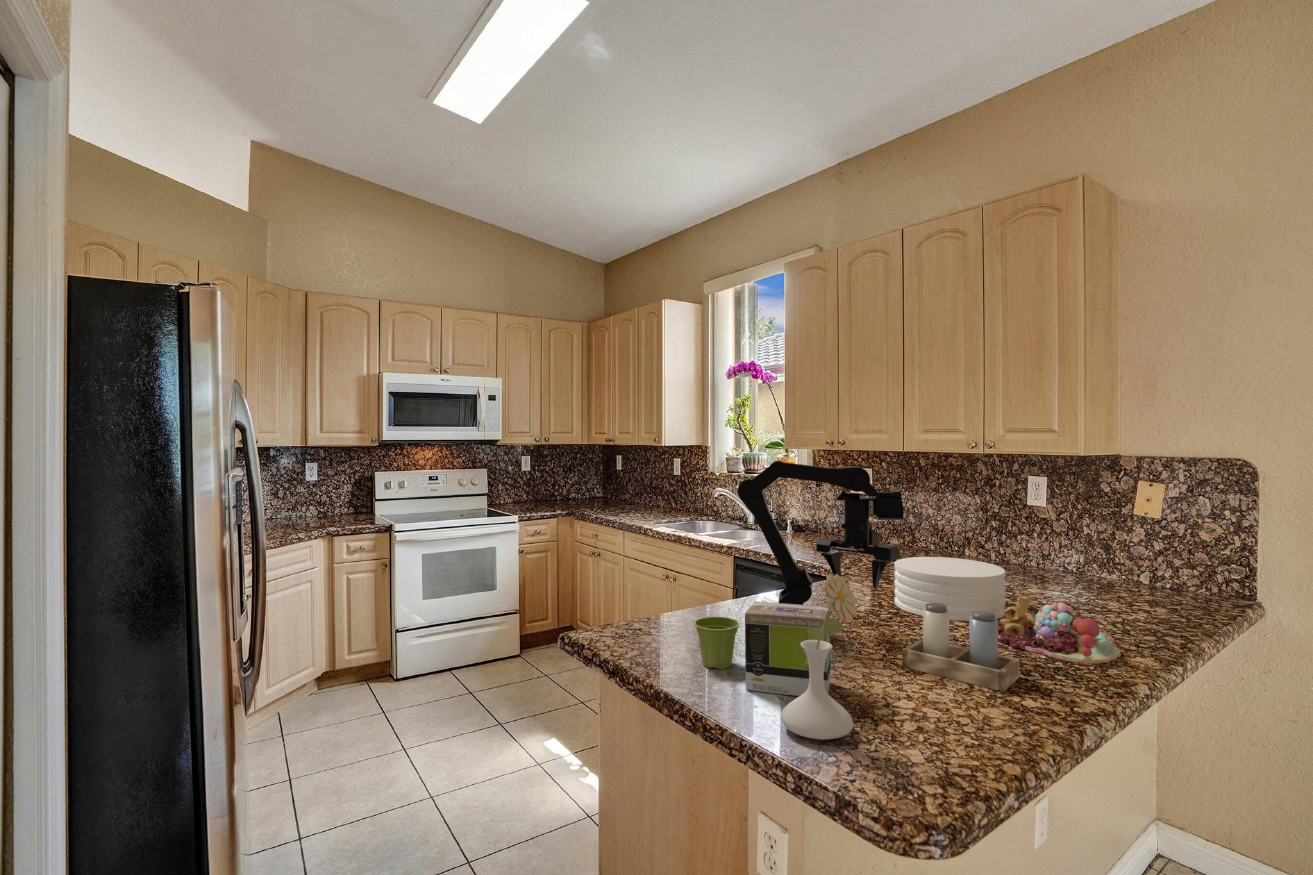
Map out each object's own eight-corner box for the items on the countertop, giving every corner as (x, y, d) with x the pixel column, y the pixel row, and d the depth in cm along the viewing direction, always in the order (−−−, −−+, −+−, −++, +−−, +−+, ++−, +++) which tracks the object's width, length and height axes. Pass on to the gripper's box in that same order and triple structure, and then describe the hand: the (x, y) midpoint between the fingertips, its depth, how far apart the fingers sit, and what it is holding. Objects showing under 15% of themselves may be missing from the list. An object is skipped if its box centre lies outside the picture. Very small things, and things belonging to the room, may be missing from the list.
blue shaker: (981, 683, 123) (980, 618, 123) (963, 673, 128) (963, 611, 128) (1004, 681, 124) (1003, 616, 124) (986, 672, 129) (985, 609, 129)
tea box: (831, 681, 124) (831, 605, 124) (827, 702, 115) (827, 619, 115) (753, 672, 129) (753, 598, 129) (744, 691, 119) (744, 611, 119)
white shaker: (938, 672, 129) (938, 609, 129) (917, 664, 133) (917, 604, 133) (955, 668, 131) (954, 606, 131) (934, 660, 136) (933, 601, 136)
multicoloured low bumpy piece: (980, 644, 147) (980, 604, 147) (1007, 622, 164) (1007, 586, 164) (1113, 671, 130) (1113, 625, 130) (1128, 643, 148) (1128, 603, 148)
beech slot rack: (902, 666, 132) (902, 649, 132) (921, 654, 139) (921, 638, 139) (1004, 691, 119) (1004, 672, 119) (1019, 677, 126) (1019, 659, 126)
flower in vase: (809, 753, 96) (809, 585, 96) (766, 722, 106) (766, 571, 106) (877, 736, 101) (877, 578, 101) (830, 708, 112) (830, 564, 112)
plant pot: (709, 675, 127) (709, 631, 127) (685, 660, 136) (685, 619, 136) (748, 667, 132) (748, 625, 132) (723, 653, 140) (723, 614, 140)
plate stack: (922, 590, 198) (922, 553, 198) (1021, 608, 178) (1021, 566, 178) (875, 606, 180) (875, 565, 180) (980, 628, 159) (980, 582, 159)
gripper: (909, 519, 152) (909, 585, 152) (836, 513, 165) (837, 574, 165) (889, 524, 144) (889, 594, 144) (814, 517, 157) (814, 581, 157)
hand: (856, 585), depth 153 cm, fingers open, 9 cm apart
